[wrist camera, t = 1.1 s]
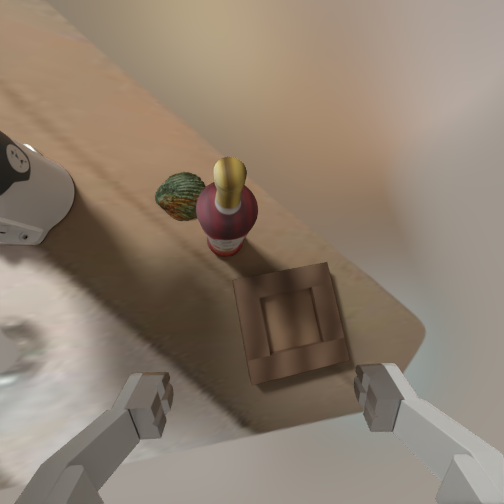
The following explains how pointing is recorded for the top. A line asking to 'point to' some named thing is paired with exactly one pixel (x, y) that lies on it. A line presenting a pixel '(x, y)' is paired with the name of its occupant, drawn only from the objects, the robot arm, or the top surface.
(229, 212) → the liquor
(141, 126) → the top surface
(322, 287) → the plinth
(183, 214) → the seashell
